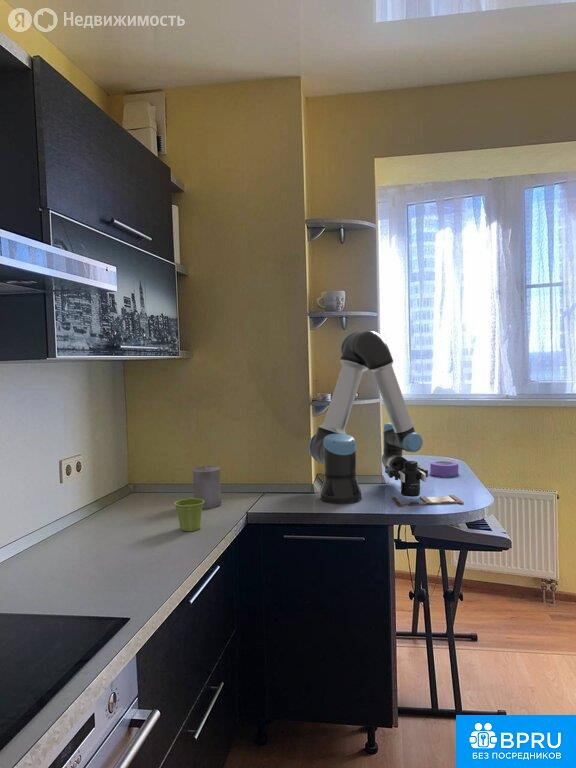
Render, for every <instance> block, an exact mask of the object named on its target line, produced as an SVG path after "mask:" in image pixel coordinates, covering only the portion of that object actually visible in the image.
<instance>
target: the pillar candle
mask: <svg viewBox="0 0 576 768" xmlns="http://www.w3.org/2000/svg"><path fill="white" fill-rule="evenodd" d="M220 470H221V469H220V467H219V466H217V465H207V464H206V465H202V466H197V467H194V468H193V469H192V472H193V473H192V474H193V475H192V476H193V477H192V478H193V494H194V495H193V496H194V498H193V499H202V500H204V503H203V507H202V510H206V509H215V508H218V507H220V506H221V505H222V491H221V489H222V488H221V474H220V473H221V471H220Z"/></svg>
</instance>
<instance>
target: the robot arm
mask: <svg viewBox="0 0 576 768" xmlns="http://www.w3.org/2000/svg"><path fill="white" fill-rule="evenodd" d="M340 352H341V356H340V360H339V362H340V364H341V369H340V372H339V375H338V378H337V381H336V384H335V387H334V390H333V394H332V396H331V399H330V403H329V406H328V409H327V412H326V415H325V417H324V418H325V419H324V420H323V421H324V422H323V423H322V424H320V425H318V426H317V427H318V428H317V430H316V433H315V434H314V435H312V437H311V438H310V440H309V443H308V451H309V454H310V456H311V457H312V459H314V461H316V462H317V463H319V464H321V465H324V480H323V483H322V486H321V490H320V500H321V501H322V502H325V503H328V504H335V505H338V504H342V505H343V504H353V503H358V502H360V501H361V500H362V499H363V498H362V497H363V496H362V490H361V487H360V485H359V482H358V479H357V445H356V439H355V438H354V437H353V436H352V435H349V434H347V433H346V430H345V429H346V427H347V424H348V420H349V418H350V414H351V411H352V408H353V405H354V401H355V398H356V396H357V392H358V389H359V387H360V383H361V380H362V376H363V374H364V372H366V371H368V370H369V371H370V372H372V374H373V376H374V379H375V382H376V384H377V388H378V391H379V392H380V395H381V399H382V401H383V404H384V407H385V409H386V412H387V416H388V418H389V420H390V422H385V423H384V425H383V432H382V434H383V454H382V456H381V462H382V465H383V467H384V472H385V474H387V476H388V477H389V478H390V479H393V478H394V480H395V481H398V480H400V482H401V481H402V482H405V474H403V473H402V472H401V471H402V469H404V461H408V459H407V458H405V457H404V456H403V451H405V452H406V453H409V452H410V453H417V452H419V451H420V450H421V449H422V448H423V445H424V440H423V437H422V436H421V435H420V434H419V433H418V432H416V431H415V428H414V424H413V422H412V419H411V416H410V413H409V409H408V408H407V404H406V402H405V399H404V396H403V393H402V391H401V387H400V384H399V381H398V378H397V376H396V373H395V369H394V367H393V364H394V359H393V357H392V353H391V351H390V348H389V346H388V344H387V342H386V341H385V338H383V337H382V335H380V334H379V333H378V332H376V331H372V330H365V331H353V332H351V333H350V334H347V335H346V336H345V337H344V338H343V340H342V342H341V344H340ZM417 469H418V470H419V471H420V481H422V482H424V483H427V478H428V477H429V470H428V469H426V468H424V467H422V466H421V465H419V464H418V467H417Z"/></svg>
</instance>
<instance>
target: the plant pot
mask: <svg viewBox="0 0 576 768" xmlns="http://www.w3.org/2000/svg"><path fill="white" fill-rule="evenodd" d="M203 503H204V500H202V499H194V498H184V499H179V500H176V501H174V504H173V505H175V508H176V510H177V516H178V521H179V528H180V530H181V531H183V532H184V531H185V532H195V531H197V530H199V529H200V528H201V524H202V511H203V509H202V507H203ZM200 530H201V529H200Z"/></svg>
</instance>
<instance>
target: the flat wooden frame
mask: <svg viewBox="0 0 576 768" xmlns="http://www.w3.org/2000/svg"><path fill="white" fill-rule="evenodd" d="M419 499H420V500H421V501H423V502H419V501H412V502H410V501H409V502H408V503H401V501H400V500H399V499H398V498H397V497H393V496H392V497H391V500H392V502H393V503H394V504H395V505H396V506H397V507H398V508H403V507H410V506H411V507H412V506H413V507H414V506H431V505H432V506H434V505H435V506H436V505H437V506H438V505H454V504H457V505H464V504H465V503H464V501H463V500H461V499H459V498H458V497H457V496H456V495H454V494H449V495H447V496H446V495H445V496H425V495H419ZM407 505H408V506H407Z"/></svg>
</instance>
